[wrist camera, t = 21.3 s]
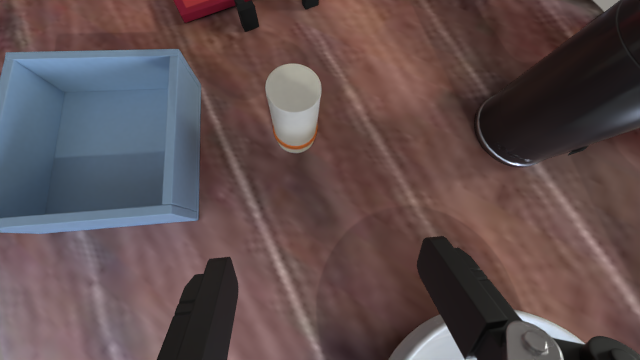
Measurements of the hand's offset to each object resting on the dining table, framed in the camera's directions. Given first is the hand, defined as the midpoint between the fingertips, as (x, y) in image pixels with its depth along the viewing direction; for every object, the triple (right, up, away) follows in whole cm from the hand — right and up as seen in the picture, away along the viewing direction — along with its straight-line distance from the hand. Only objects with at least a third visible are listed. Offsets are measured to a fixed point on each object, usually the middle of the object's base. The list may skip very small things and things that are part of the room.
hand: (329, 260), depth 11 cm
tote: (-21, +6, +16) cm, 27 cm away
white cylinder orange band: (-3, +9, +18) cm, 20 cm away
